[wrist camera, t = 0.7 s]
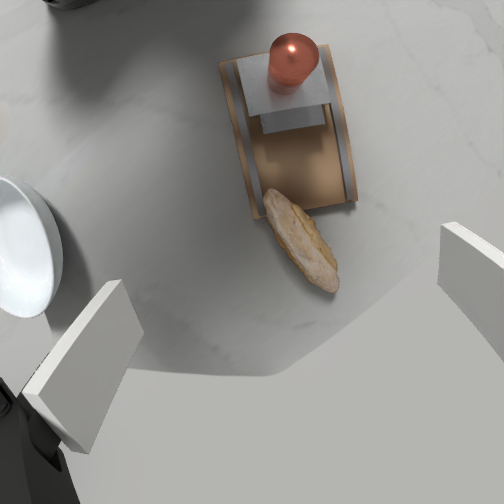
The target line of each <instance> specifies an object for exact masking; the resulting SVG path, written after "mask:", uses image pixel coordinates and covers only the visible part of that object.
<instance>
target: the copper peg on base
mask: <svg viewBox="0 0 504 504" xmlns="http://www.w3.org/2000/svg"><path fill="white" fill-rule="evenodd" d="M236 62H237V66H238V70H239V74H240V78H241V83H242V87H243V91H244V96H245V100H246V104H247V109H248V113H249V117H250V118H253V117H258V116H260V119H261V124H262V128H263V133H264V134H268V133H273V132H279V131H284V130H290V129H296V128H302V127H308V126H315V125H321V124H325V120H324V115H323V110H322V106H325V105H327V104H330V103H331V100H330V95H329V91H328V86H327V82H326V77H325V73H324V69H323V65H322V61H321V57H320V53H319V50H318V47H317V46H316V44H315V43H314V42H313V41H312V40H311V39H310V38H308V37H307V36H305V35H302V34H298V33H287V34H284V35H281V36H280V37H278V38H277V39H276V40H275V41H274V42H273V43H272V45H271V48H270V53H267V54H261V55H256V56H251V57H246V58H241V59H236Z"/></svg>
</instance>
